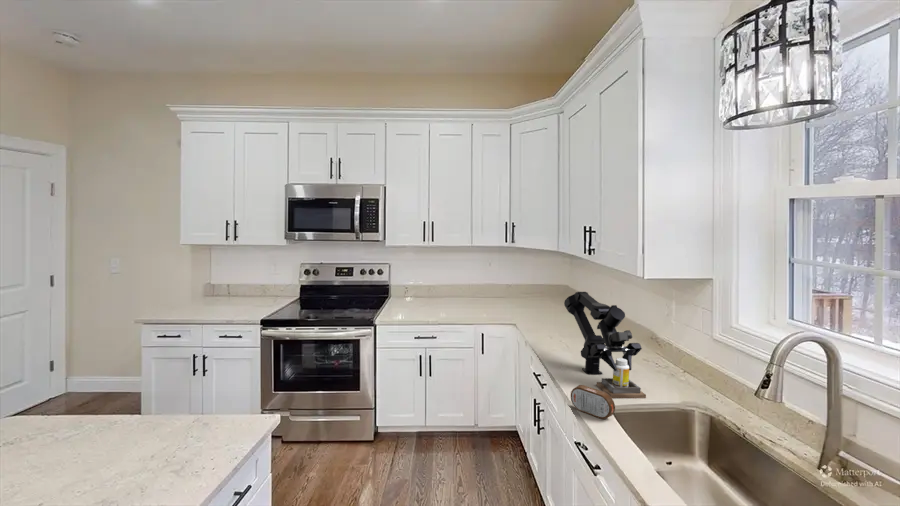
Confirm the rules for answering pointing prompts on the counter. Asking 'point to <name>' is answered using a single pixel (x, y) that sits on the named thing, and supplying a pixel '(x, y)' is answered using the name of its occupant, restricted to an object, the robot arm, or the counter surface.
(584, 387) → the tin
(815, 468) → the counter surface
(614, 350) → the robot arm
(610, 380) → the collar base
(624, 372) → the supplement bottle
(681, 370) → the counter surface
